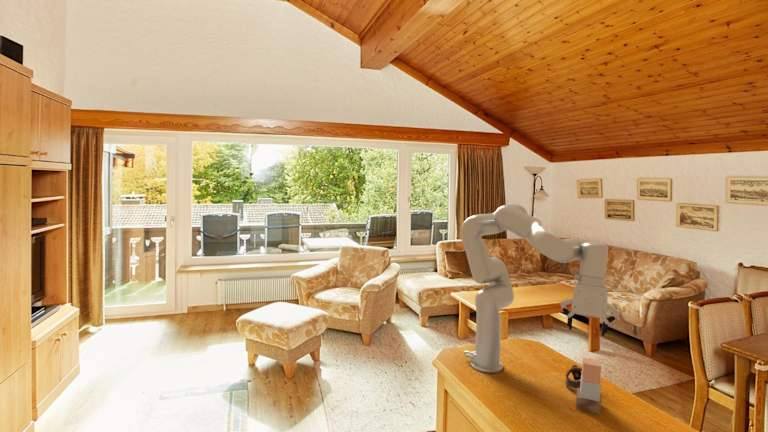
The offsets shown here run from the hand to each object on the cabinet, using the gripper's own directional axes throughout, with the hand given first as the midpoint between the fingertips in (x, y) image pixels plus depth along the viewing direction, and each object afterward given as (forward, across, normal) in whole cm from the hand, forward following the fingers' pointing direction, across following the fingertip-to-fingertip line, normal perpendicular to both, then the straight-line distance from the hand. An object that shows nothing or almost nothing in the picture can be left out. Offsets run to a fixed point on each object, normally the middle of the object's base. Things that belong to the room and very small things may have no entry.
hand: (586, 331), depth 136 cm
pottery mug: (+25, 0, +12) cm, 28 cm away
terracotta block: (+15, +3, -1) cm, 16 cm away
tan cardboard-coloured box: (+25, +3, -1) cm, 25 cm away
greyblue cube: (+21, +3, -1) cm, 21 cm away
